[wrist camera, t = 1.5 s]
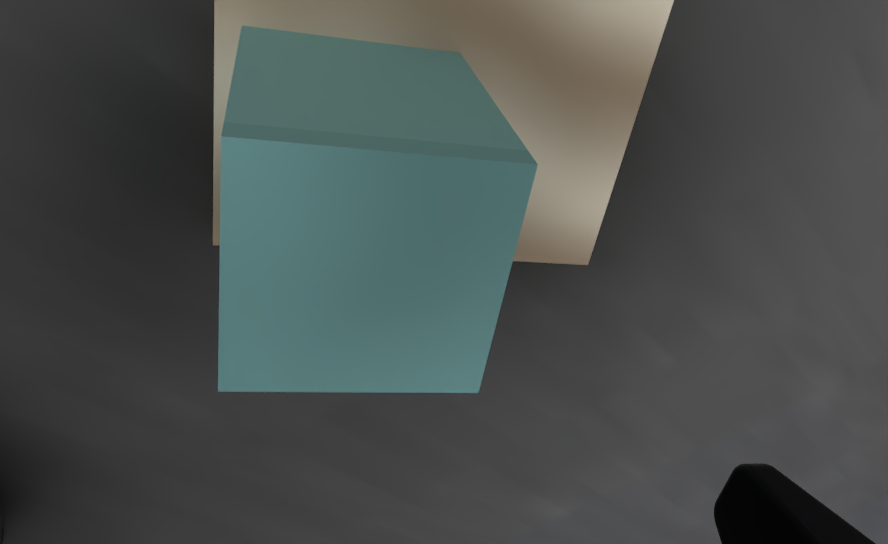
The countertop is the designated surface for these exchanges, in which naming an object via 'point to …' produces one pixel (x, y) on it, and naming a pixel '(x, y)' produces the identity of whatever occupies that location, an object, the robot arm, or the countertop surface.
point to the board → (502, 86)
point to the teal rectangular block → (362, 217)
